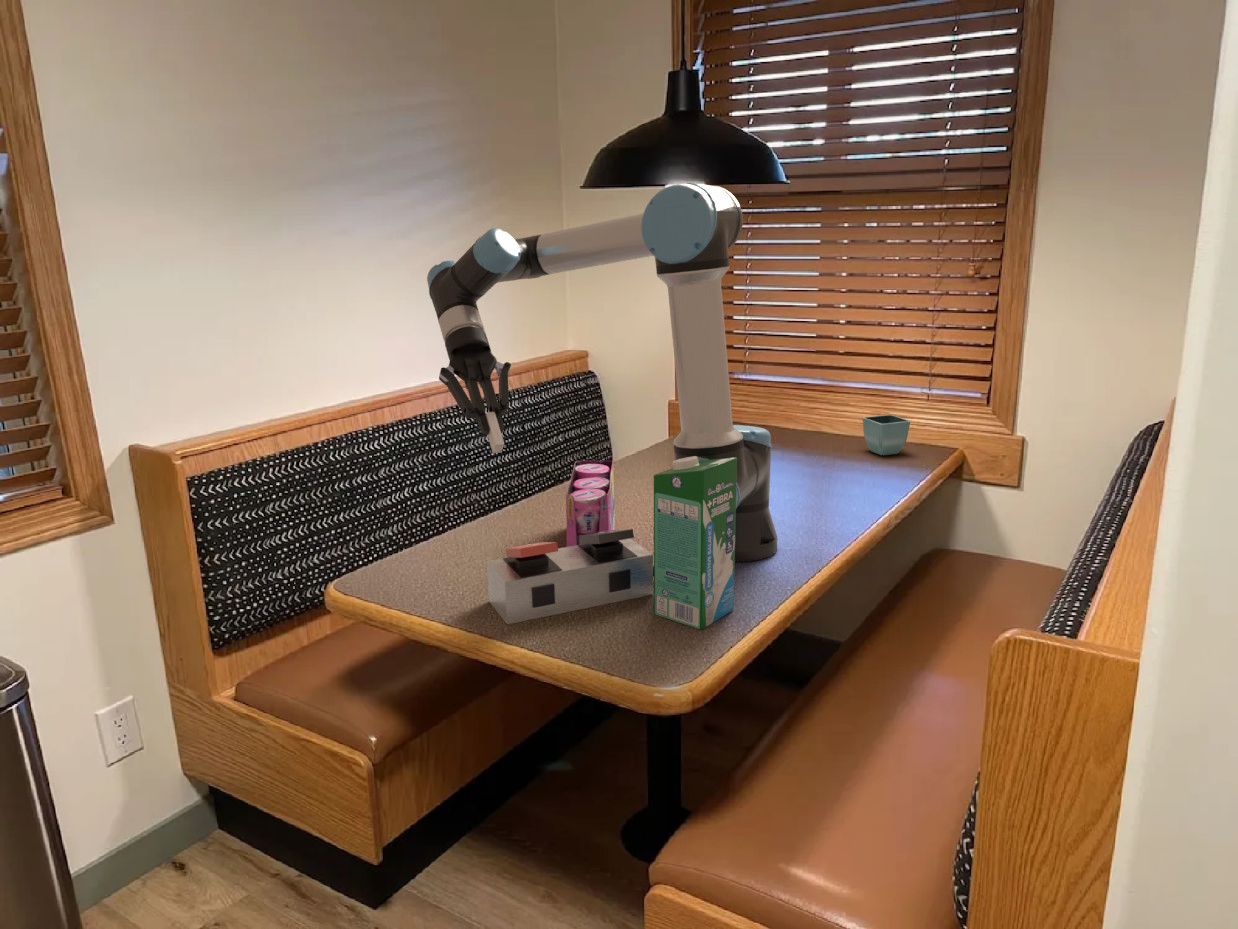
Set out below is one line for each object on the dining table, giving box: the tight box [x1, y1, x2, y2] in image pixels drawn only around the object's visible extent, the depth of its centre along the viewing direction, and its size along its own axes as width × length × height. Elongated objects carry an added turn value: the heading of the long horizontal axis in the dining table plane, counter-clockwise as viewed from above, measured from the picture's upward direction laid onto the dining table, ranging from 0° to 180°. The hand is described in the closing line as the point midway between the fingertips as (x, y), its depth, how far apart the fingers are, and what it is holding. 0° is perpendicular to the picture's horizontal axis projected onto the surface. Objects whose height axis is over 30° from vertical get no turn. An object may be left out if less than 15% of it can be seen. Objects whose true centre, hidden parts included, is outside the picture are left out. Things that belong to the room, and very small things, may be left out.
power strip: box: [486, 538, 654, 625], centre depth 147 cm, size 32×10×8 cm, turn 115°
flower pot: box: [862, 414, 911, 456], centre depth 230 cm, size 9×9×9 cm
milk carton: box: [653, 456, 737, 631], centre depth 137 cm, size 9×9×25 cm
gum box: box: [565, 460, 616, 547], centre depth 168 cm, size 24×8×14 cm, turn 178°
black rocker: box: [581, 528, 635, 544], centre depth 147 cm, size 6×8×2 cm
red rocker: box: [505, 541, 559, 558], centre depth 141 cm, size 6×8×2 cm
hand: (498, 448), depth 151 cm, fingers closed
